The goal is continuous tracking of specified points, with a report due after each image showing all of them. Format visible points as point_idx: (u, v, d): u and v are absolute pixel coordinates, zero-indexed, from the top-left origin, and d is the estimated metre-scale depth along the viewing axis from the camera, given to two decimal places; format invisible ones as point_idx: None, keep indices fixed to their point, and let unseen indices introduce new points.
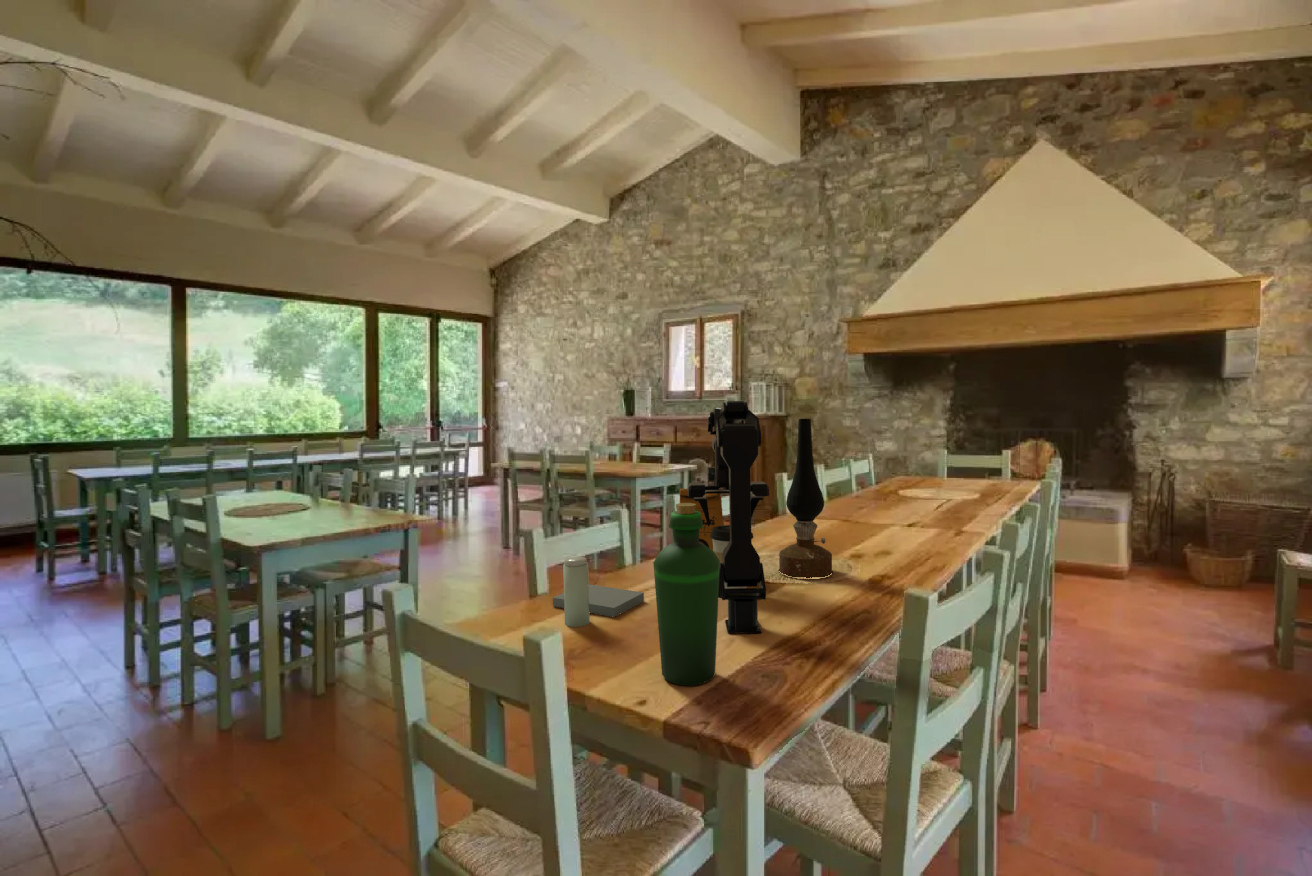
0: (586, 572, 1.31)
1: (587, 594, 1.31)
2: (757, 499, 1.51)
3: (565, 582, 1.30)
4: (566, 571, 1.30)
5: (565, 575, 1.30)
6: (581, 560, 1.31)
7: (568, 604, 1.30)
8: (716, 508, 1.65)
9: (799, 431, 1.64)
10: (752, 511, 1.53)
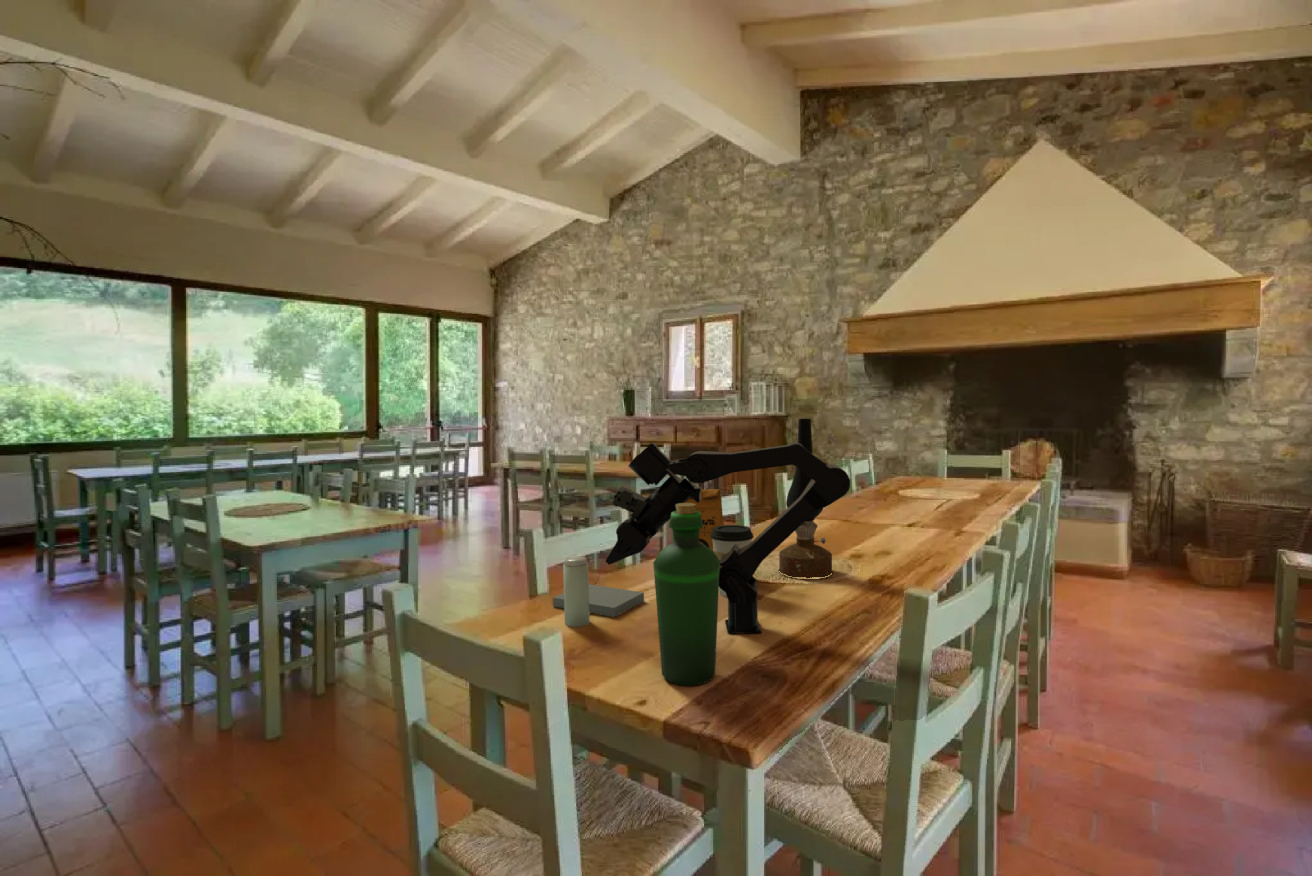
0: (586, 572, 1.31)
1: (587, 594, 1.31)
2: None
3: (565, 582, 1.30)
4: (566, 571, 1.30)
5: (565, 575, 1.30)
6: (581, 560, 1.31)
7: (568, 604, 1.30)
8: (716, 508, 1.65)
9: (799, 431, 1.64)
10: None
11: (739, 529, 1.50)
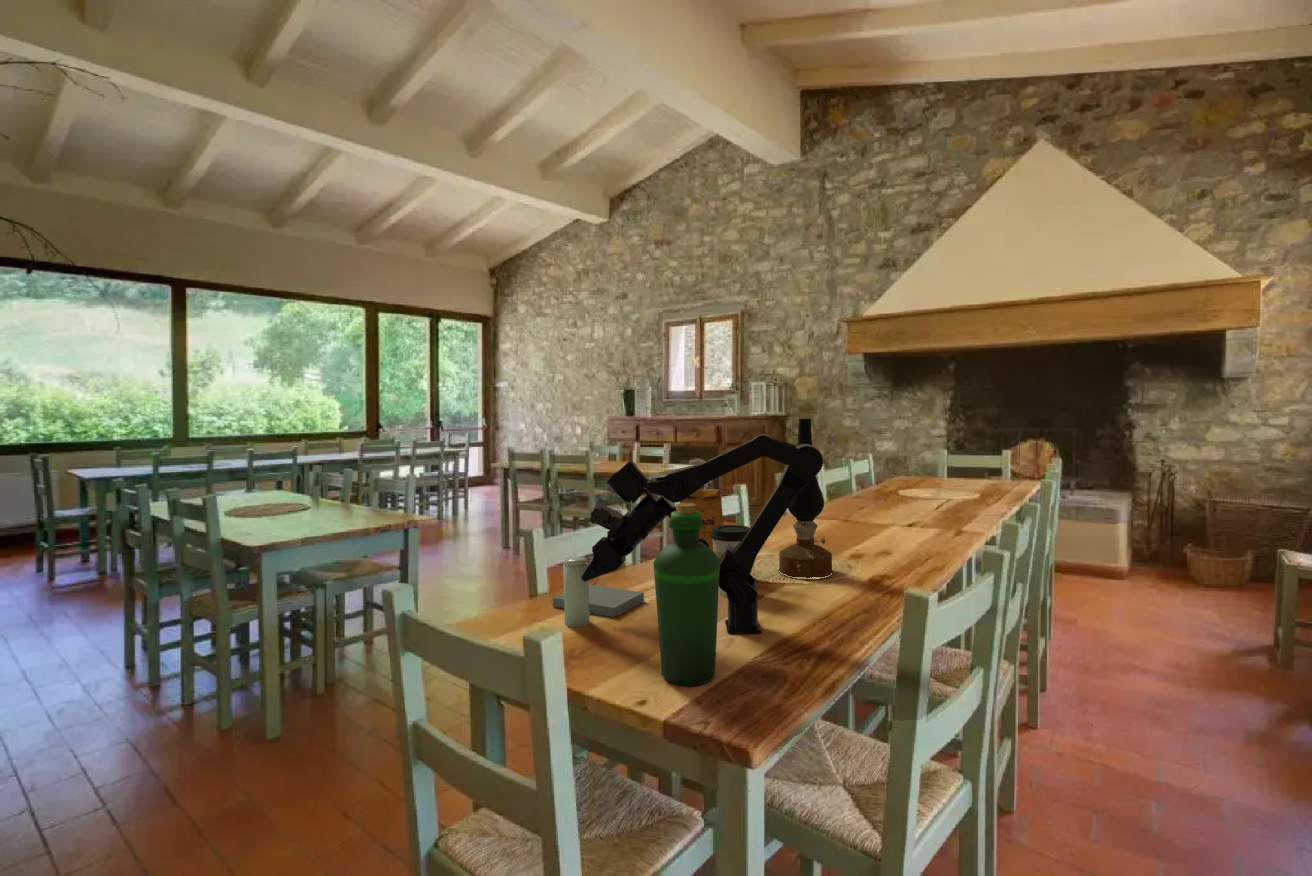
0: None
1: (587, 594, 1.31)
2: None
3: (565, 582, 1.30)
4: (566, 571, 1.30)
5: (565, 575, 1.30)
6: (581, 560, 1.31)
7: (568, 604, 1.30)
8: (716, 508, 1.65)
9: (799, 431, 1.64)
10: None
11: (739, 529, 1.50)
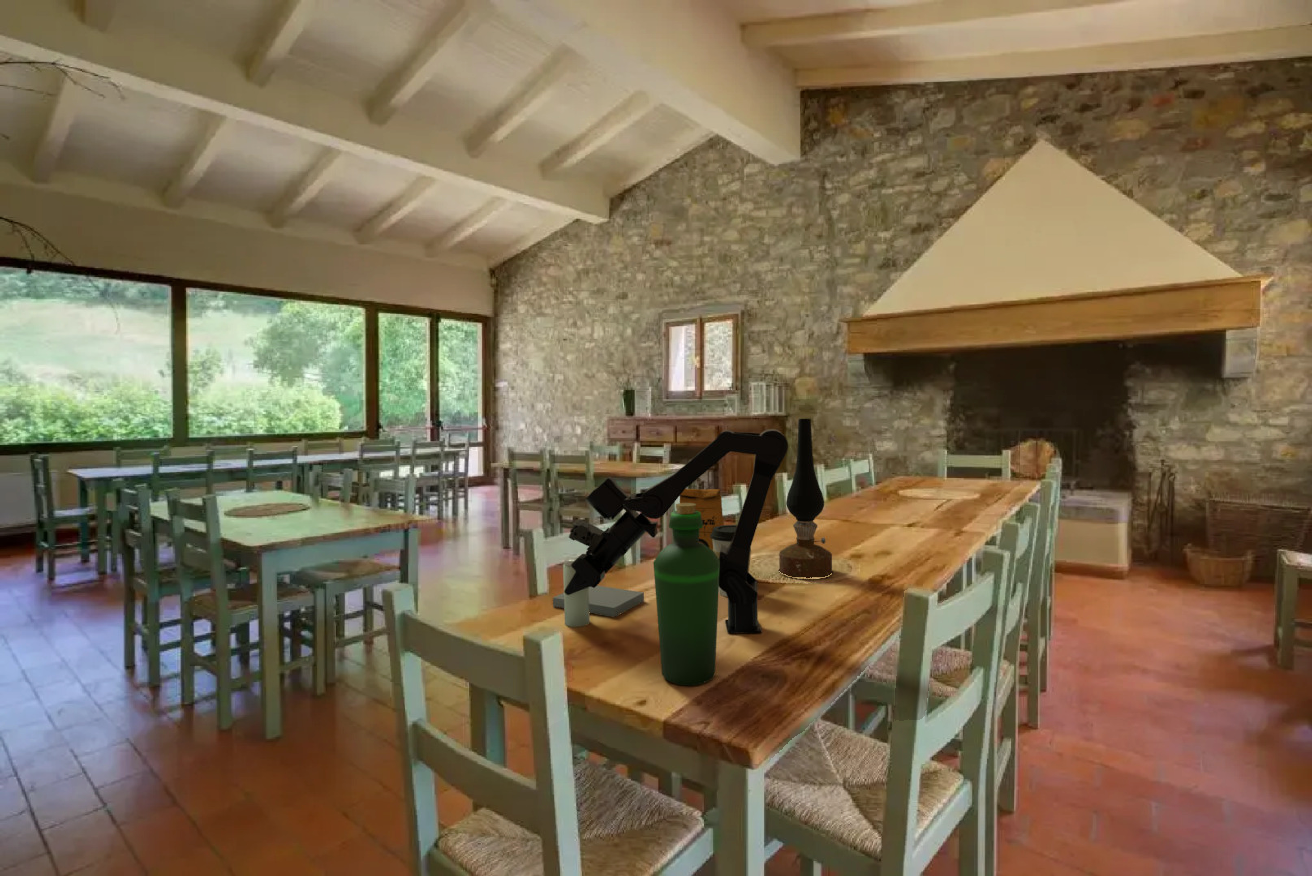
0: None
1: (587, 594, 1.31)
2: None
3: (565, 582, 1.30)
4: (566, 570, 1.30)
5: (565, 575, 1.30)
6: None
7: (568, 604, 1.30)
8: (716, 508, 1.65)
9: (799, 431, 1.64)
10: None
11: None
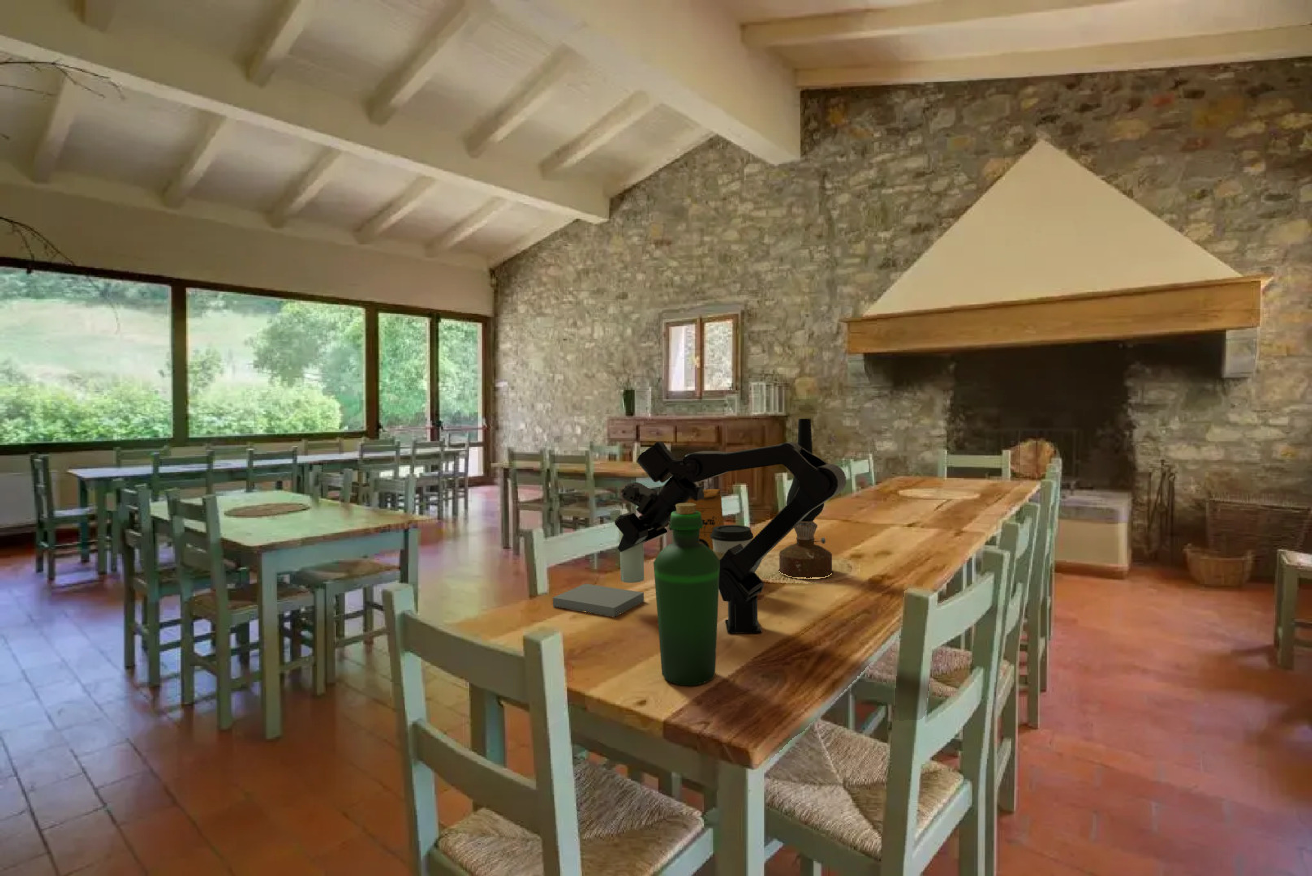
0: None
1: (640, 553, 1.38)
2: (664, 533, 1.40)
3: (620, 540, 1.38)
4: None
5: (619, 533, 1.38)
6: None
7: (621, 560, 1.38)
8: (716, 508, 1.65)
9: (799, 431, 1.64)
10: (650, 539, 1.41)
11: (739, 529, 1.50)
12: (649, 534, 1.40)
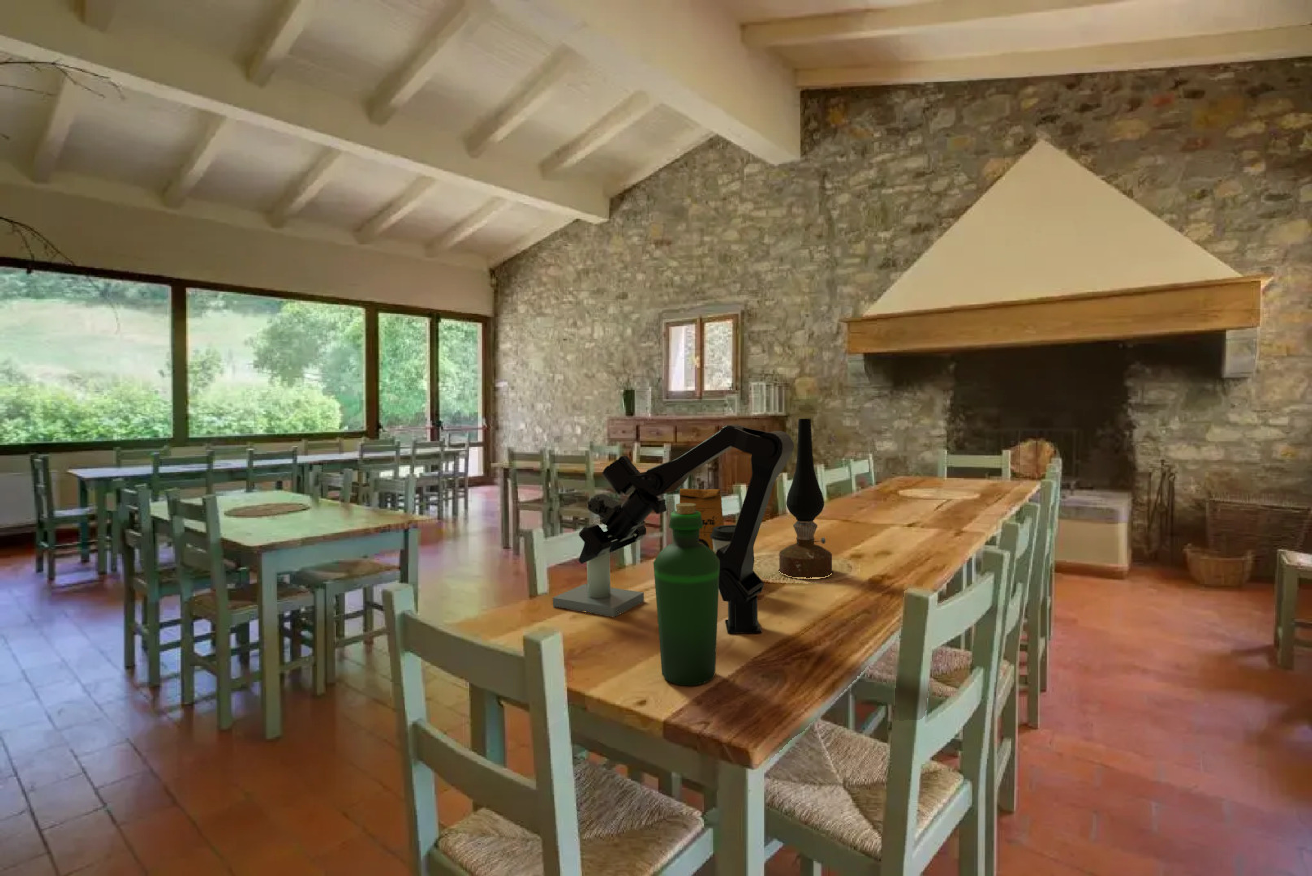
0: None
1: (606, 569, 1.42)
2: None
3: None
4: None
5: None
6: None
7: (588, 576, 1.43)
8: (716, 508, 1.65)
9: (799, 431, 1.64)
10: None
11: None
12: (620, 543, 1.47)
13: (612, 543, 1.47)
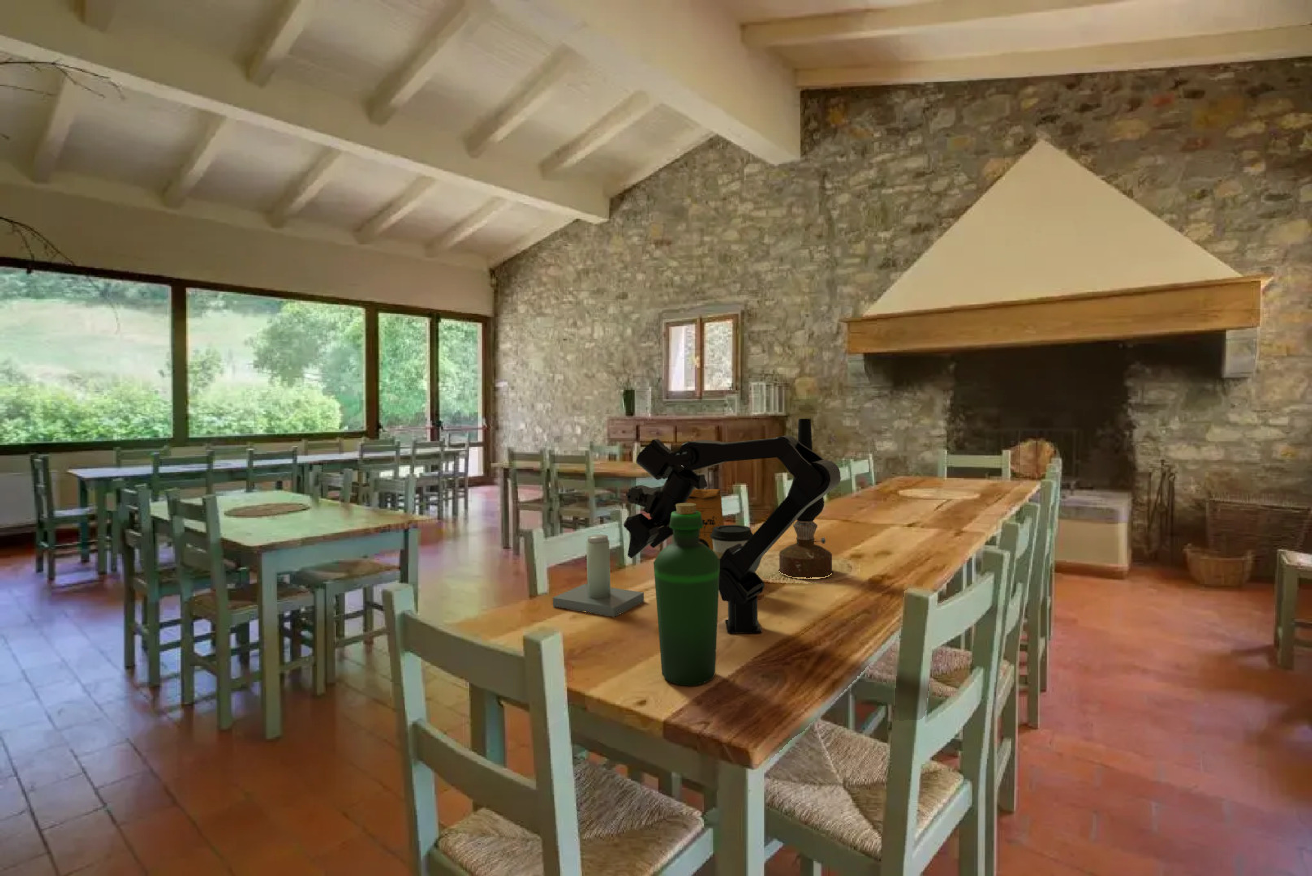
0: (605, 549, 1.42)
1: (606, 569, 1.42)
2: None
3: (587, 556, 1.43)
4: (587, 546, 1.42)
5: (587, 550, 1.43)
6: (601, 538, 1.42)
7: (588, 577, 1.43)
8: (716, 508, 1.65)
9: (799, 431, 1.64)
10: (667, 538, 1.42)
11: (739, 529, 1.50)
12: (666, 532, 1.42)
13: (658, 534, 1.42)
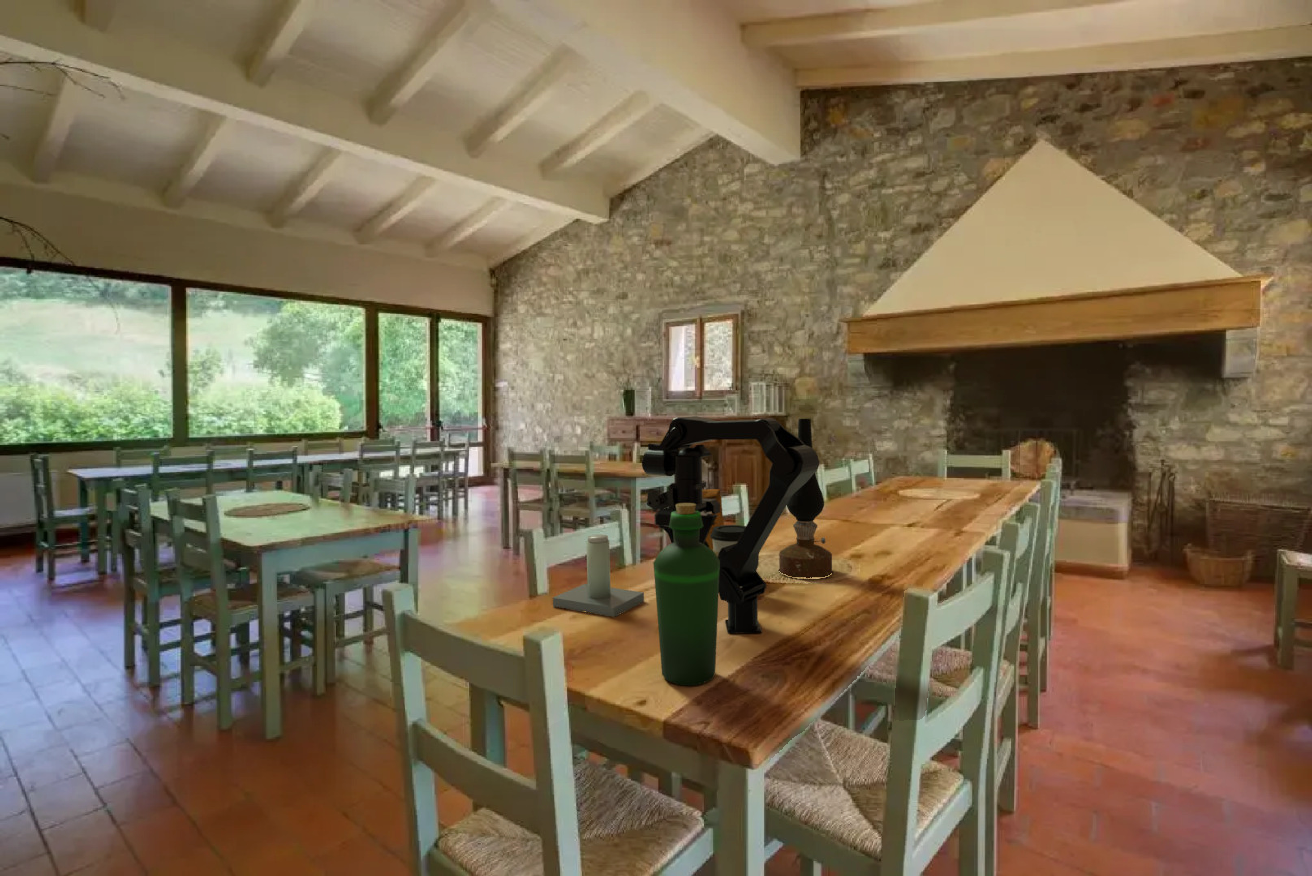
0: (605, 549, 1.42)
1: (606, 569, 1.42)
2: (715, 517, 1.39)
3: (587, 556, 1.43)
4: (587, 546, 1.42)
5: (587, 550, 1.43)
6: (601, 538, 1.42)
7: (588, 577, 1.43)
8: None
9: (799, 431, 1.64)
10: (708, 531, 1.39)
11: (739, 529, 1.50)
12: (704, 526, 1.38)
13: None
